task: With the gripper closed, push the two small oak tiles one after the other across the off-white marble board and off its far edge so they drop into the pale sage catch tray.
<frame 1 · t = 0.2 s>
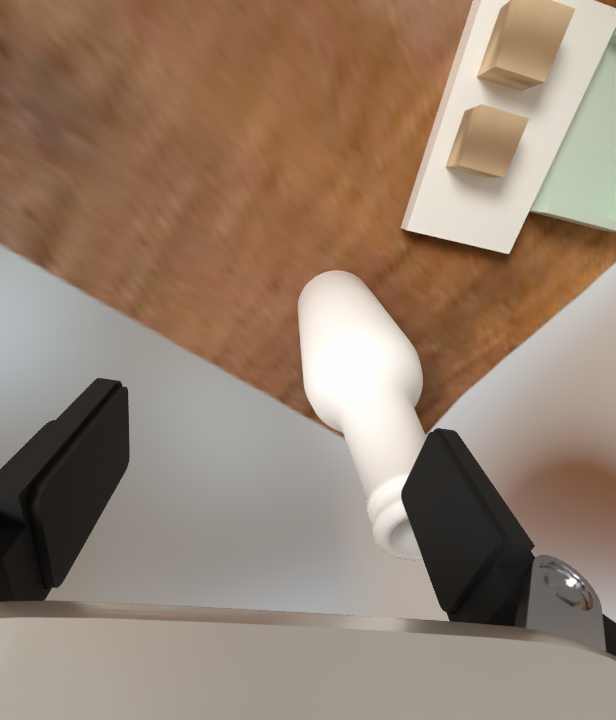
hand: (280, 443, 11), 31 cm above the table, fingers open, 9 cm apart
alcohol: (333, 305, 41), on the table
board: (491, 135, 33), on the table
catch tray: (604, 142, 34), on the table
tile b: (476, 145, 32), point 2 cm above the table, touching board
tile a: (511, 51, 29), point 2 cm above the table, touching board
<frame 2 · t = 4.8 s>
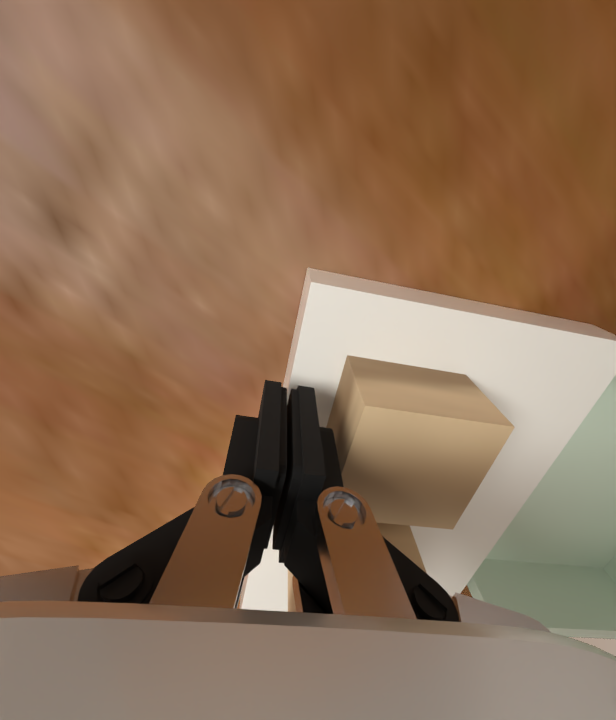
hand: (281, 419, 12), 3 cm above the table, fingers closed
board: (381, 482, 18), on the table
catch tray: (598, 478, 18), on the table
tile b: (342, 533, 16), point 2 cm above the table, touching board
tile a: (388, 415, 13), point 2 cm above the table, touching gripper
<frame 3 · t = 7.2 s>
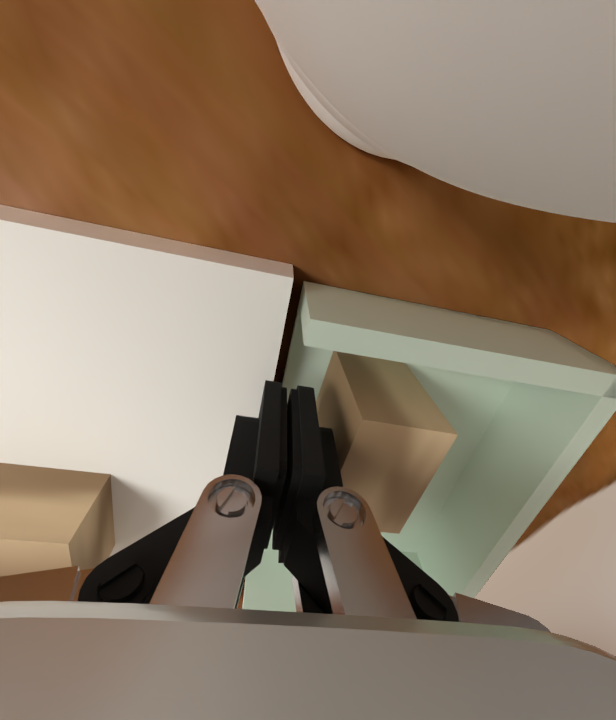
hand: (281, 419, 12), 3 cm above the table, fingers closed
board: (125, 452, 16), on the table
catch tray: (376, 450, 17), on the table
tile b: (56, 506, 14), point 2 cm above the table, touching board
tile a: (326, 429, 12), point 3 cm above the table, tilted 93°, touching catch tray, gripper
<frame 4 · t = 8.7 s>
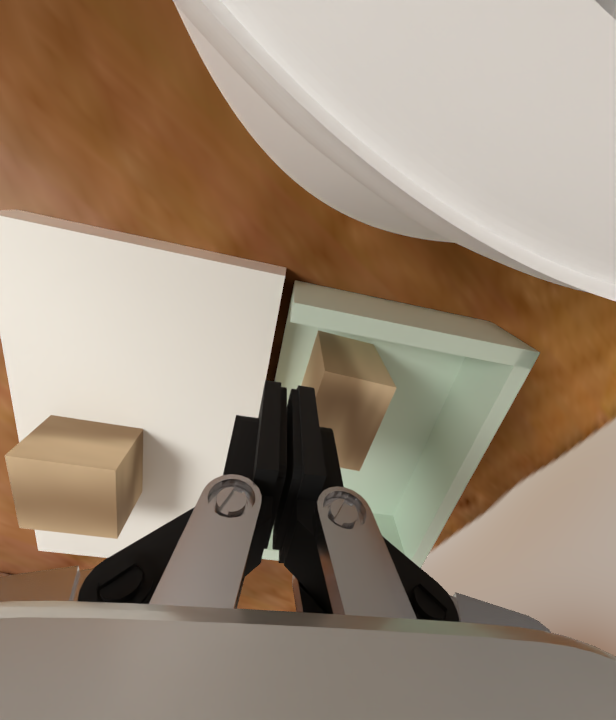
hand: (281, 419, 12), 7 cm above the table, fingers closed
board: (152, 417, 20), on the table
catch tray: (356, 421, 20), on the table
tile b: (99, 455, 18), point 2 cm above the table, touching board
jar: (373, 75, 13), on the table
tile a: (307, 390, 16), point 3 cm above the table, tilted 90°, touching catch tray
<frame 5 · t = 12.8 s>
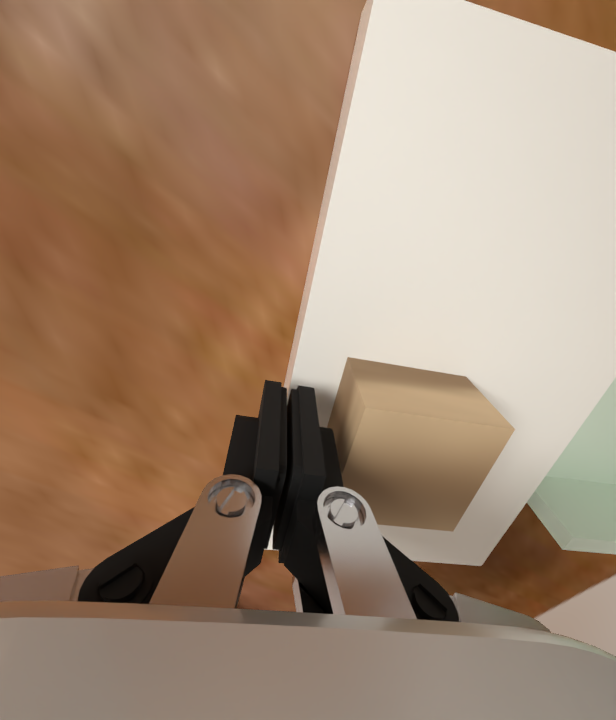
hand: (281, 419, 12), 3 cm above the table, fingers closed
board: (431, 367, 14), on the table
tile b: (388, 417, 13), point 2 cm above the table, touching gripper
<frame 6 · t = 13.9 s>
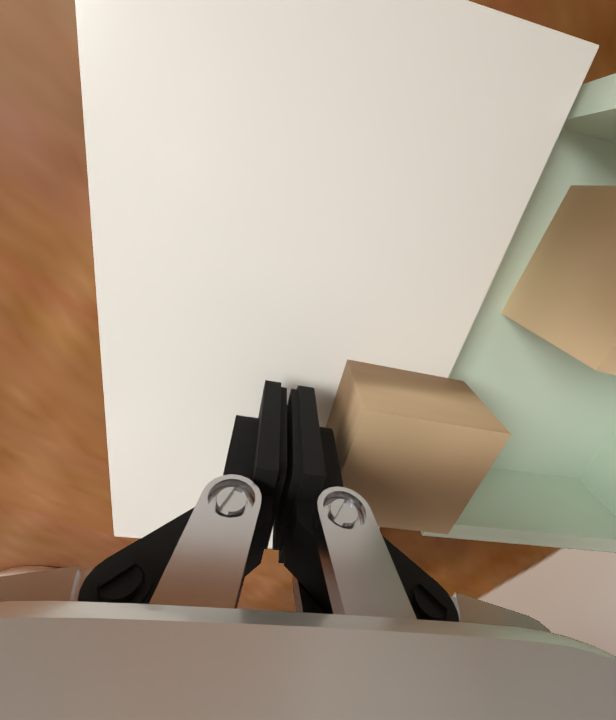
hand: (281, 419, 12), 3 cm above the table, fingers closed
alcohol: (52, 600, 21), on the table
board: (284, 341, 14), on the table
catch tray: (566, 344, 14), on the table
tile b: (386, 420, 13), point 2 cm above the table, touching gripper
tile a: (582, 268, 10), point 3 cm above the table, tilted 90°, touching catch tray
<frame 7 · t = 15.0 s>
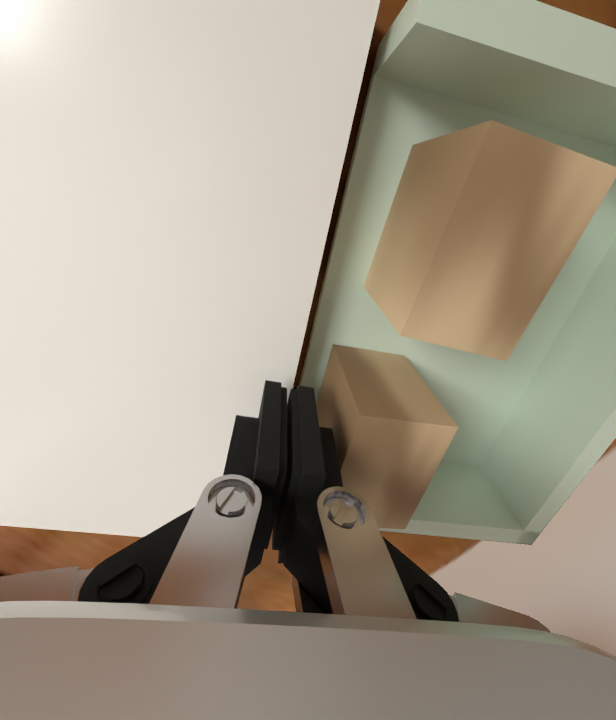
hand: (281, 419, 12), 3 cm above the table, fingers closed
board: (140, 316, 13), on the table
catch tray: (445, 322, 14), on the table
tile b: (327, 427, 12), point 3 cm above the table, tilted 93°, touching catch tray, gripper
tile a: (407, 229, 9), point 3 cm above the table, tilted 90°, touching catch tray
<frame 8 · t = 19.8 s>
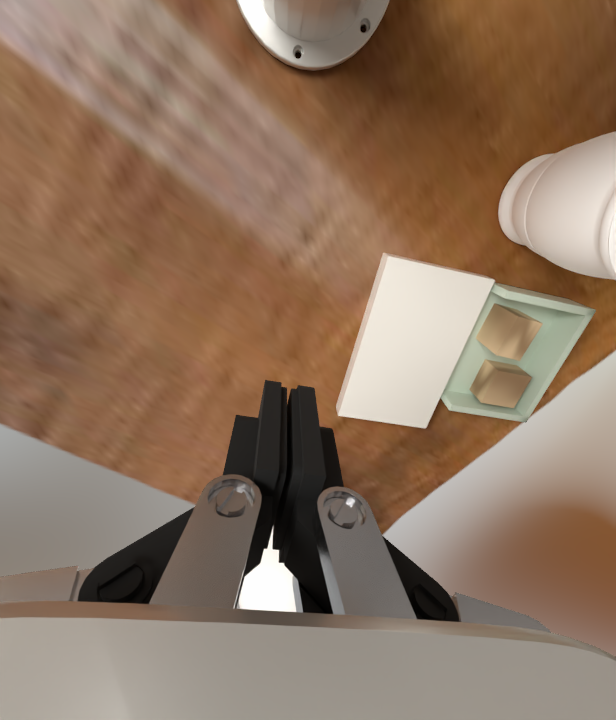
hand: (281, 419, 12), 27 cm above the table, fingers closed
alcohol: (284, 457, 48), on the table
board: (404, 346, 41), on the table
catch tray: (498, 348, 42), on the table
tile b: (506, 390, 41), point 3 cm above the table, tilted 180°, touching catch tray
jar: (536, 201, 35), on the table
tile a: (495, 328, 38), point 3 cm above the table, tilted 90°, touching catch tray
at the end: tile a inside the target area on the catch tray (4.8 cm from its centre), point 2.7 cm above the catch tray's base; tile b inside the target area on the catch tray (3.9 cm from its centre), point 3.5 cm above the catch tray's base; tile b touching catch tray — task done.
